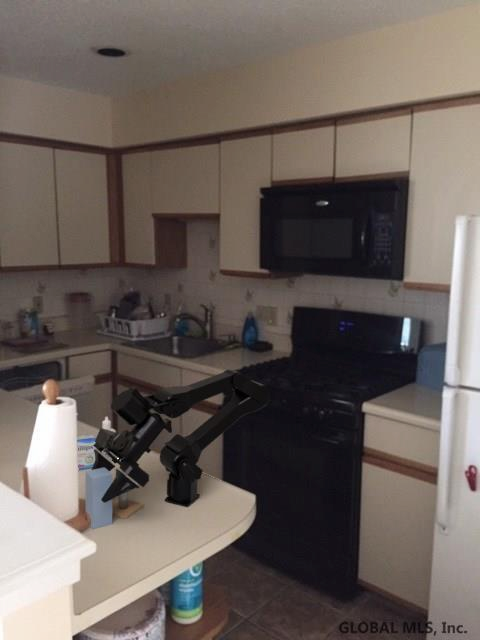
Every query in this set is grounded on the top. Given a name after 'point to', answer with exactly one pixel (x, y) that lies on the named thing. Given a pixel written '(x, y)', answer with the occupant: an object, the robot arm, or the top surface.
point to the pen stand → (125, 506)
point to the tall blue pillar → (98, 497)
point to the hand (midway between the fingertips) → (94, 493)
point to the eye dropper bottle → (107, 425)
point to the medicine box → (86, 451)
